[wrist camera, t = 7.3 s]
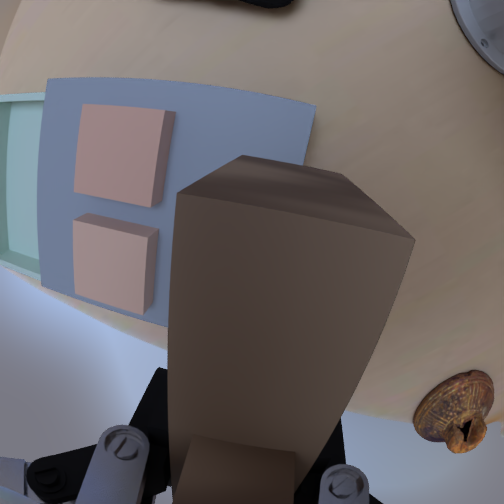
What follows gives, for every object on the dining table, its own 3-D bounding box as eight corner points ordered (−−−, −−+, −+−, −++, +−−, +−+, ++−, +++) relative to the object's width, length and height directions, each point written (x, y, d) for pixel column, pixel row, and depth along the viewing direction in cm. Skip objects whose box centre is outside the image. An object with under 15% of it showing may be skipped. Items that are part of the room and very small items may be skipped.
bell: (399, 435, 35) (409, 478, 28) (434, 369, 30) (455, 415, 23) (466, 427, 34) (481, 463, 27) (504, 364, 29) (529, 401, 23)
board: (310, 111, 23) (316, 105, 18) (260, 315, 29) (255, 349, 25) (82, 83, 23) (47, 78, 18) (69, 264, 30) (41, 285, 25)
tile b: (158, 228, 22) (147, 237, 20) (152, 302, 24) (143, 315, 22) (87, 212, 22) (72, 219, 20) (87, 282, 24) (75, 293, 22)
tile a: (175, 111, 19) (165, 110, 17) (162, 200, 21) (150, 207, 19) (98, 104, 19) (82, 103, 17) (88, 186, 21) (73, 192, 19)
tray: (80, 93, 23) (60, 92, 21) (70, 273, 30) (54, 285, 27) (11, 95, 24) (-8, 95, 21) (8, 252, 30) (-8, 261, 28)
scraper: (341, 173, 9) (496, 326, 2) (260, 454, 14) (242, 591, 7) (242, 154, 9) (84, 253, 2) (203, 443, 15) (167, 577, 7)
